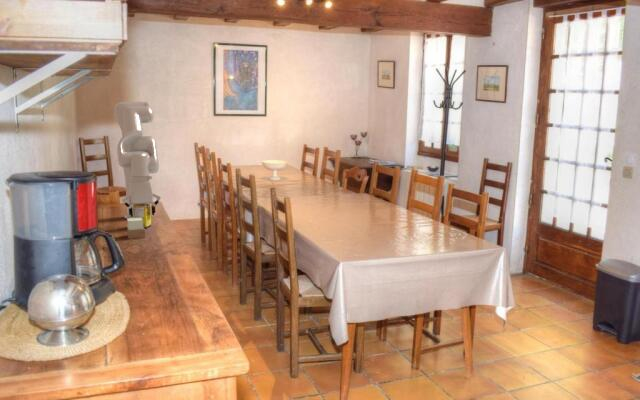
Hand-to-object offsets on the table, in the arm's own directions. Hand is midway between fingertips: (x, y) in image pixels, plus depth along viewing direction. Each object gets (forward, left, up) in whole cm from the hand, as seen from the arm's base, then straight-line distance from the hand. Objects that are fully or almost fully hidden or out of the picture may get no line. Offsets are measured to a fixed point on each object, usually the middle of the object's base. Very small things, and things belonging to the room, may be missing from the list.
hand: (142, 215), depth 273 cm
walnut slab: (+17, -5, -6) cm, 19 cm away
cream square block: (+17, -5, -2) cm, 18 cm away
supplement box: (-1, 0, -6) cm, 6 cm away
